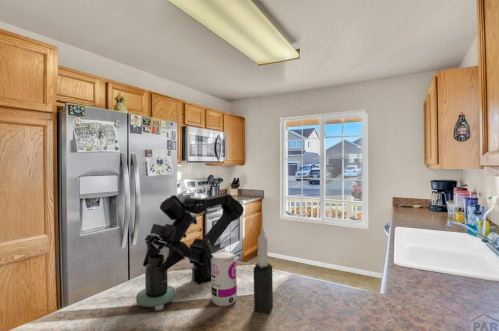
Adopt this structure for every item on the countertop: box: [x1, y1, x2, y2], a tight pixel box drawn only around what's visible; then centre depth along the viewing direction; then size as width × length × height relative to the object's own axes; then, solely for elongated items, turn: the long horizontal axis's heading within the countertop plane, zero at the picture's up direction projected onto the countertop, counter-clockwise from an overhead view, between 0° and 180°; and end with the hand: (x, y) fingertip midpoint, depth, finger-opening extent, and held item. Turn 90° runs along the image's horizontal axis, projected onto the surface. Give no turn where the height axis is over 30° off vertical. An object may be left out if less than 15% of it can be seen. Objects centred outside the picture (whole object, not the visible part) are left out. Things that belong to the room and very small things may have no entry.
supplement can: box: [210, 250, 238, 307], centre depth 86 cm, size 8×8×15 cm
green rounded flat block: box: [135, 285, 177, 311], centre depth 86 cm, size 12×12×3 cm
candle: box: [253, 226, 274, 315], centre depth 81 cm, size 5×5×25 cm
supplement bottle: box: [144, 253, 169, 298], centre depth 86 cm, size 7×7×12 cm
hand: (152, 269), depth 85 cm, fingers open, 9 cm apart
